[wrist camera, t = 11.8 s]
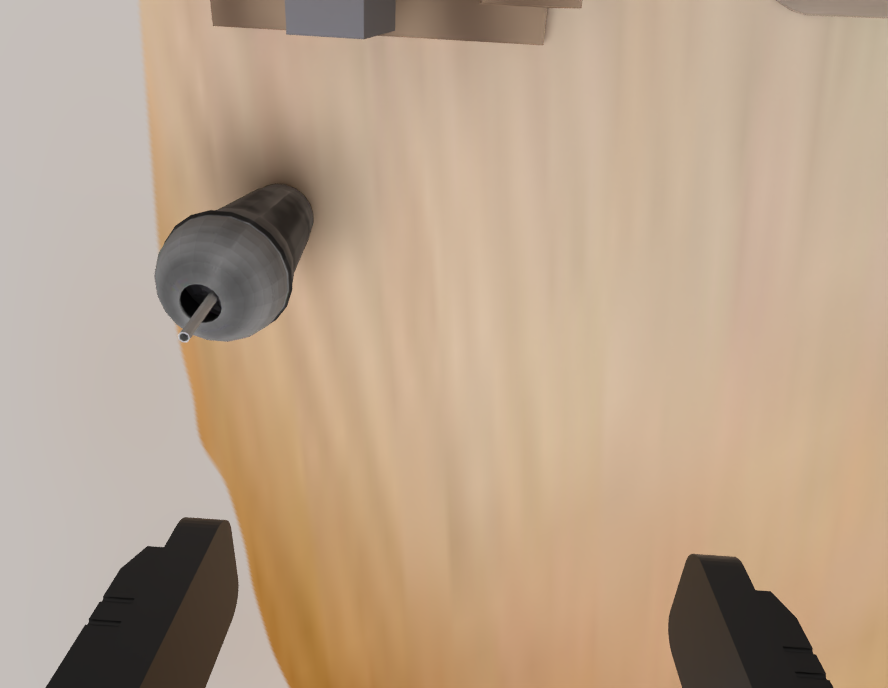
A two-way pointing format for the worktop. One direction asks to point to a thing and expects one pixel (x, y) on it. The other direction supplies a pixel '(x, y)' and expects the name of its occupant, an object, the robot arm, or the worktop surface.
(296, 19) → the peach and grey blocks
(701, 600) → the robot arm
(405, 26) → the hook stand
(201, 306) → the beverage cup
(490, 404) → the worktop surface
